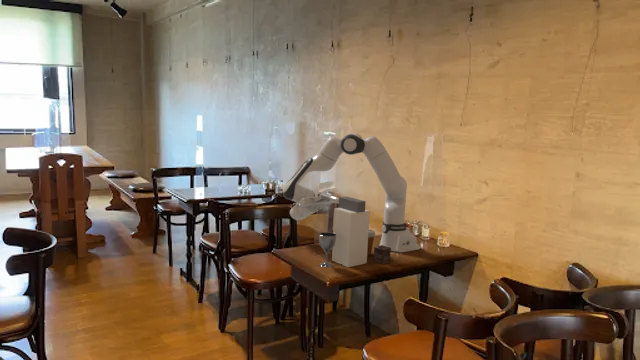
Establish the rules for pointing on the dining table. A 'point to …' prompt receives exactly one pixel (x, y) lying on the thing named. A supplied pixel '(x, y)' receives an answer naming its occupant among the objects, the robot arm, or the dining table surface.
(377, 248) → the box
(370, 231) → the disposable coffee cup
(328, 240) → the wine glass
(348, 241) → the stand
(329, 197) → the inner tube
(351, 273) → the dining table surface
